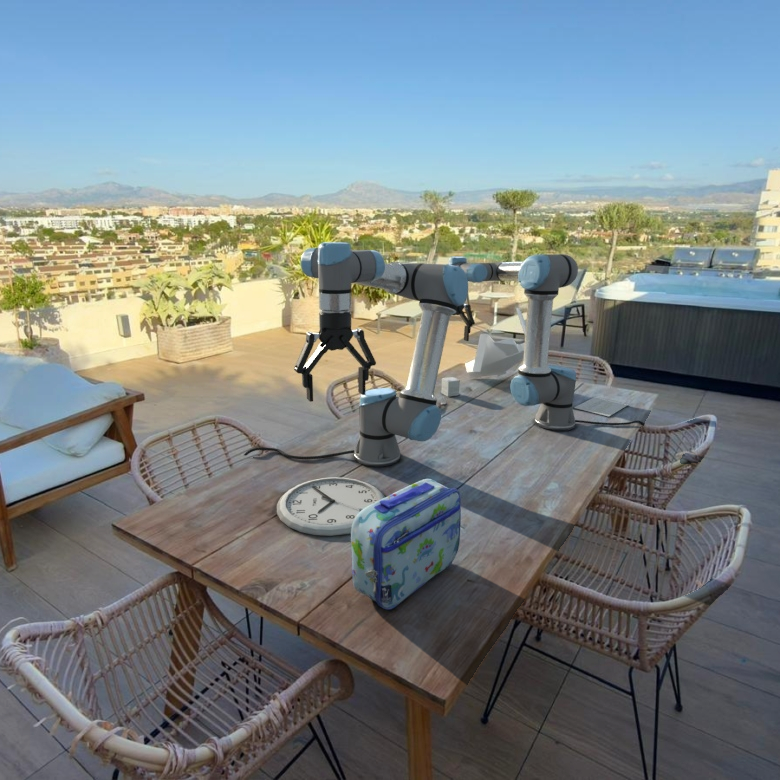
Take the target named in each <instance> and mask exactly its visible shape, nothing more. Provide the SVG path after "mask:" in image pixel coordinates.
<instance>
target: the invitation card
mask: <svg viewBox="0 0 780 780" xmlns="http://www.w3.org/2000/svg"><path fill="white" fill-rule="evenodd" d="M628 406H629V404H627V403H623V402H618V401H614V400H609V399H605V398H601V397H596V396H593V397H592V398H590V399H588V400H586V401H584V402H582V403H580V404H578V405H575V406H574V407H573V409H575V410H581V411H584V412H587V413H593V414H596V415H600V416H604V417H608V418H609V417H611V416H613V415H614V414H616V413H617V412H619V411H621V410H623V409H624V408H626V407H628Z"/></svg>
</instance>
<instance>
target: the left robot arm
mask: <svg viewBox="0 0 780 780" xmlns="http://www.w3.org/2000/svg"><path fill="white" fill-rule="evenodd" d="M300 268H301V269H300V270H301V271H302V273H303V274H304V275H305V276H307V277H309V278H313V279H318V306H319V307H318V309H319V310H320V312H319V313H318V315H319V316H318V319H319V320H318V321H319V323H318V324H319V331H318V332H311V331H307V332H306V334H305V336H306V337H305V341H304V344H303V347H302V349H301V351H300V354H299V356H298V358H297V360H296V363H295V365H294V366H293V371H294V372H296V373H297V374H299V375H300V374H301V382H302V383H301V384H302V387H303V388H304V389H306V399H307V400H308V401H309V402H314V382H313V379H314V378H313V377H314V376H313V374H312V373H311V372H312V371H313V370H314V368H315V367H316V365H317V364H318V363H319V362H320V360H321V359H322V357H323V356H324V355H325V354H326V353H327V352H328V351H336V350H339V351H343V350H344V349H346V350H347V351H348V352H349V354H351V355H352V357H353V358H354V359H355V360H356V361H357V362H358V363H359V365H360V366H358V368H357V369H358V370H357V371H358V372H357V375H358V378H357V379H358V382H357V383H358V385H357V386H358V391H357V392H358V393H359V394H360V395H359V405H358V411H359V413H358V414H359V436H358V439H357V442H356V445H355V447H354V449H351V450H347V451H346V450H345V451H340V452H335V453H334V452H333V453H328V454H322V455H308V456H307V455H306V456H303V455H301V456H300V455H292V454H288V453H286V452H284V451H283V450H281V449H279V448H277V447H266V446H263V447H261V446H259V447H258V446H257V447H254V448H253V447H252V448H251V449H249V450H247V451H245V453H244V454H243V456H248V455H249V454H251V453H253V452H255V451H270V452H276V453H279V454H281V455H282V456H284V457H286V458H289V459H294V460H318V459H327V458H332V457H338V456H343V455H350V454H353V459H354V460H355V462H357V463H358V464H361V465H362V466H366V467H373V468H381V467H389V466H393V465H394V464H396V463H398V462H399V461H400V459H401V450H400V446H399V443H398V441H397V437H401V438H406V439H408V440H410V441H417V442H421V443H423V442H426V441H429V440H430V439H431V438H432V437H433V436H434V435H435V434H436V432H437V431H438V428H439V426H440V425H441V421H442V414H441V412H442V410H441V408H439V407H438V405H437V402H438V399H437V397H436V396H435V394H434V393H435V388H436V384H437V379H438V374H439V370H440V365H441V362H442V361H441V360H442V357H443V351H444V346H445V342H446V337H447V333H448V327H449V324H450V320H451V319H450V318H451V317H452V316H454V315H453V314H455V313H456V310H457V306H460V305H463V304H464V305H465V304H466V301H467V299H468V296H469V281H468V280H467V276H466V274H465V272H464V270H463V269H462V268H461V267H459V266H454V265H449V263H445V264H444V263H443V264H441V263H426V262H425V263H424V262H408V263H407V262H404V263H403V262H396V261H392V262H389V263H386V261H385V259H384V256H383V255H382V253H380V252H379V251H377V250H375V249H374V250H373V249H365V250H364V249H352V246H351V244H350V243H349V242H337V241H335V242H331V241H329V242H328V241H327V242H321V243H319V244H318V246H317V247H309V248H307V249H305V250H304V251H303V253H302V254H301V256H300ZM352 284H353V285H360V286H365V287H369V288H370V287H371V288H375V289H381V290H383V291H385V292H386V293H387V294H390V295H394V296H399V297H401V298H402V297H403V298H405V299H409V300H413V301H417V302H418V306H419V308H420V309H421V311H422V312H421V316H420V321H419V325H418V326H419V327H418V330H417V335H416V339H415V344H414V349H413V353H412V354H413V355H412V357H411V363H410V368H409V371H408V377H407V382H406V386H405V388H403V389H402V390H401V391H400V392H399V396H397V391H396V390H395V389H394V388H391V387H381V388H380V387H379V388H371V389H368V390H366V382H367V381H369V378H370V377H369V376H370V373H369V372H370V371H369V370H370V369H371V367H373V366H376V365H377V361H376V359H375V357H374V355H373V353H372V350H371V349H370V347H369V345H368V343H367V341H366V339H365V331H364V330H363V329H361V328H359V327H357V328H356V329H353V330H352V312H351V311H350V310H351V309H352ZM353 337H354V339H356V341H357V343H358V345H359V347H360V349H361V351H362V354H363V355H364V357H365V359H364V357H363V355H361V354H360V353H359V352H358V350H357V349H356V348H355V346H354V345H353V344H352V343H351V342H350V341H351V340H352V339H353ZM318 339H319V341H320V343H319V344H318V345H317V348H316V349H315V351H314V352H313V353H312V355H311V357H310V354H311V351H312V350H313V347H314V345H315V343H316V342H317V340H318ZM309 357H310V358H309ZM308 358H309V359H308ZM396 436H397V437H396Z"/></svg>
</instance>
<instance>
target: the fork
mask: <svg viewBox="0 0 780 780" xmlns="http://www.w3.org/2000/svg"><path fill="white" fill-rule="evenodd" d="M448 398H449V397H448V396H446V397H442V398H441V400H440V402H439V405H437V407H439V408H440V409H441V408H442V406H443V405H446V404H447V403H448Z"/></svg>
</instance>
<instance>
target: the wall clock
mask: <svg viewBox="0 0 780 780" xmlns="http://www.w3.org/2000/svg"><path fill="white" fill-rule="evenodd" d="M385 497H386V496H385V494H384V493H383V492H382V491H381V490H380V489H379V488H377V487H376V486H374V485H372V484H371V483H369V482H365V481H362V480H359V479H355V478H349V477H338V476H337V477H335V476H333V477H332V476H331V477H322V478H317V479H312V480H307V481H305V482H302V483H299V484H297V485H295V486H293V487H292V488H290V489H288V490H287V491H286V492H285V493H284V494H283V495H281V496H280V498H279V499H278V502H277V503H276V515H277V517H278V518H279V520H280V521H281V522H282V523H283V524H285V525H286V526H287V527H288V528H290V529H293V530H295V531H297V532H299V533H303V534H308V535H312V536H327V537H328V536H329V537H331V536H332V537H333V536H342V535H350V534H351V529H352V524H353V521H354V519H355V517H356V516H357V514H358V513H359V512H360V511H361V510H362V509H364V508H366V507H367V506H369V505H371V504H374V503H375V502H377V501H379V500H381V499H383V498H385Z"/></svg>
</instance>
